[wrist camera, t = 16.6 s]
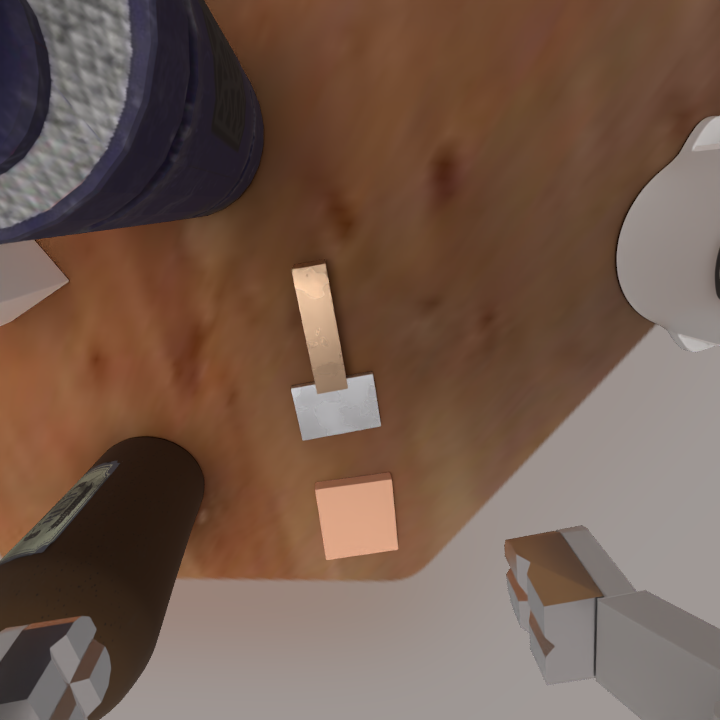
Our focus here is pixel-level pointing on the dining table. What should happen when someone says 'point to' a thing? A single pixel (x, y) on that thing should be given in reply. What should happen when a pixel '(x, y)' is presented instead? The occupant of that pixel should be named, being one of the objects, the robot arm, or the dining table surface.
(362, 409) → the turner
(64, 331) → the dining table surface
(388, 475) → the tile
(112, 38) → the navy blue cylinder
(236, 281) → the dining table surface
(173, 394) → the dining table surface
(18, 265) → the milk
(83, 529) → the olive oil
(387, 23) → the dining table surface
